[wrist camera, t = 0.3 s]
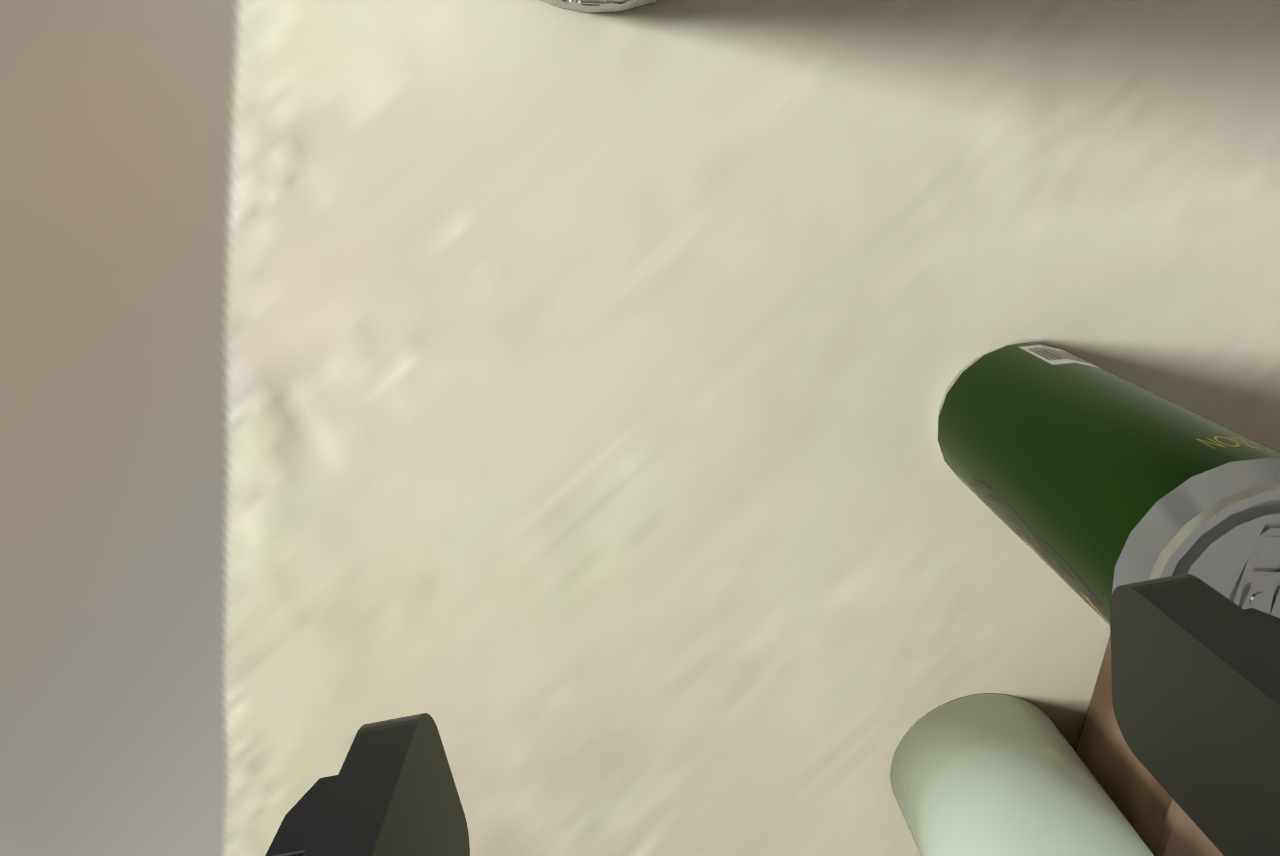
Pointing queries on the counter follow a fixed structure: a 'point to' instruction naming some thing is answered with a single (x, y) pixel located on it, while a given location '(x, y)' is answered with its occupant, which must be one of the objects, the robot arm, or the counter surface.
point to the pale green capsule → (1002, 786)
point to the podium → (1135, 780)
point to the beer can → (1113, 477)
